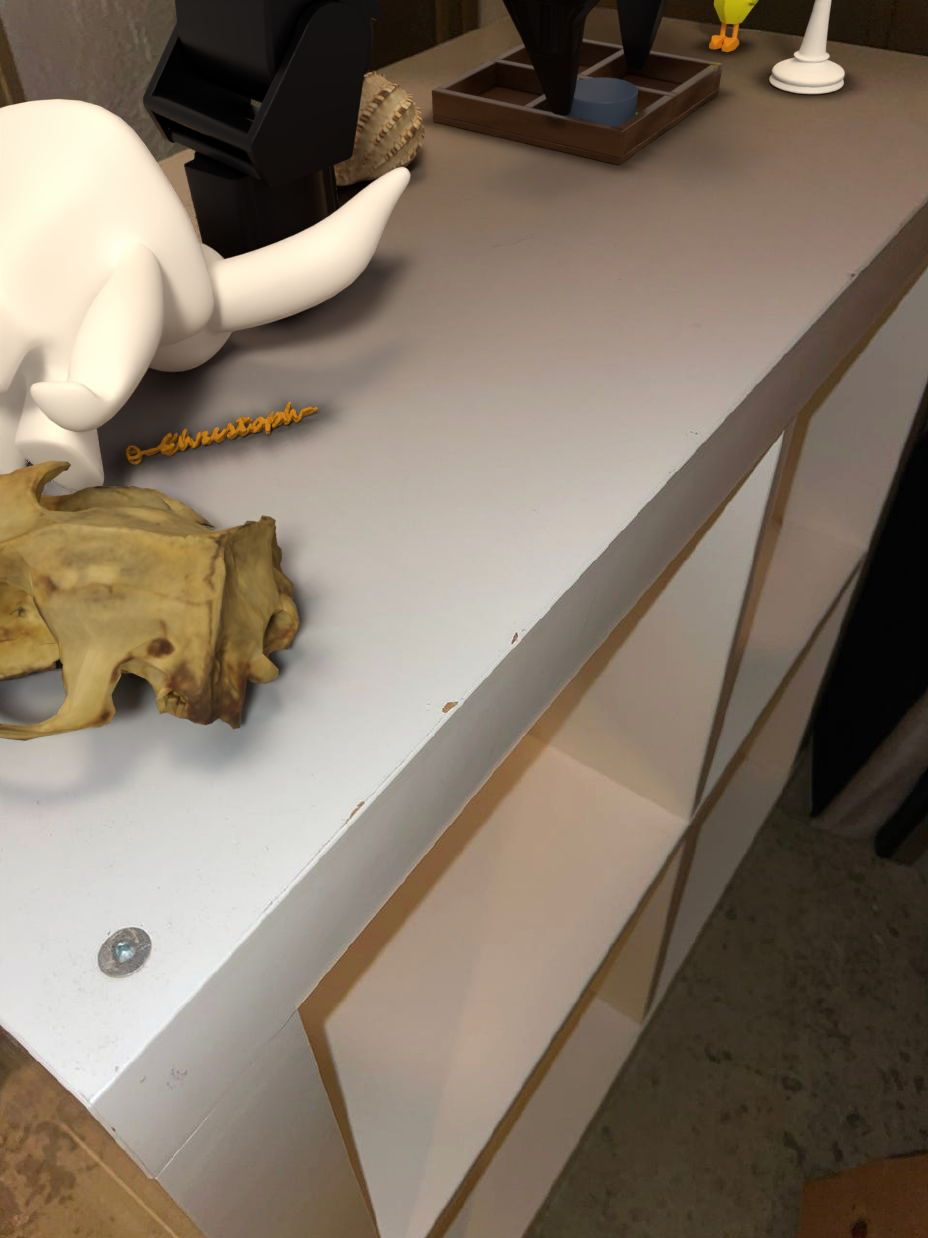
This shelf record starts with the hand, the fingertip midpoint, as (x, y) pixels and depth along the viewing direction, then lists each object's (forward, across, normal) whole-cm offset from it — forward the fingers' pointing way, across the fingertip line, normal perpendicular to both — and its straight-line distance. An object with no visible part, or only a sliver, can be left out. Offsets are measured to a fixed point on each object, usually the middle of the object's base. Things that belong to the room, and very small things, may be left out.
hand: (599, 90), depth 58 cm
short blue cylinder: (+2, 0, 0) cm, 2 cm away
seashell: (+3, -14, +9) cm, 17 cm away
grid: (+2, +3, +3) cm, 5 cm away
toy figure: (+3, +19, 0) cm, 19 cm away
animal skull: (+5, -45, -9) cm, 46 cm away
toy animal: (0, -44, 0) cm, 44 cm away
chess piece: (+3, +15, -8) cm, 17 cm away
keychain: (+3, -36, -3) cm, 37 cm away
